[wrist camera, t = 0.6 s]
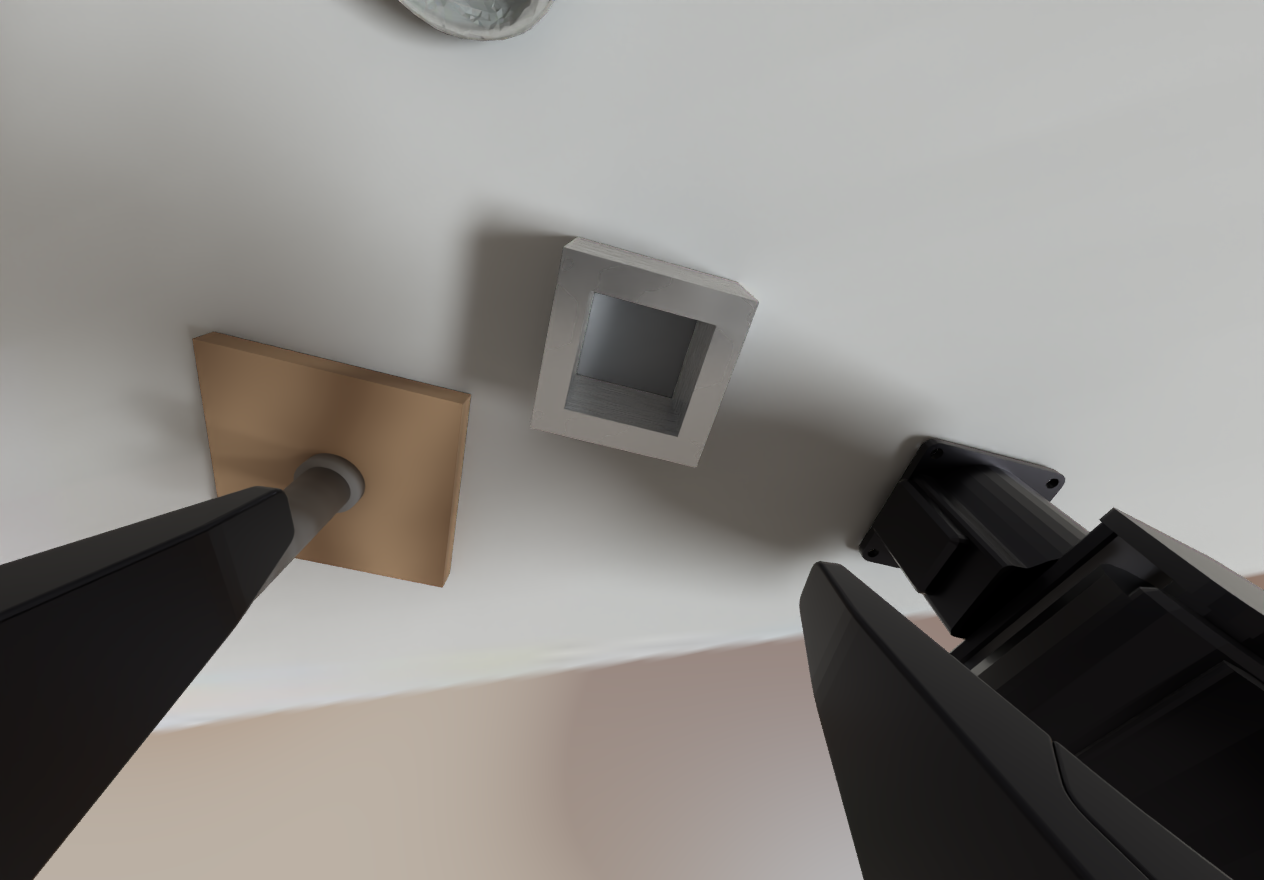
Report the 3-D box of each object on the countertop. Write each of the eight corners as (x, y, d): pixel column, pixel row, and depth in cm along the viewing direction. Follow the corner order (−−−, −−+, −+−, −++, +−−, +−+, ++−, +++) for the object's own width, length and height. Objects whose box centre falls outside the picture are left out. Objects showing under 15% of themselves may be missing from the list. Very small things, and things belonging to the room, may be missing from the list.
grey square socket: (738, 282, 18) (759, 302, 14) (687, 425, 20) (696, 467, 17) (577, 236, 17) (563, 247, 14) (547, 390, 20) (529, 428, 16)
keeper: (470, 394, 20) (392, 487, 14) (449, 572, 24) (384, 705, 18) (213, 331, 19) (0, 401, 12) (240, 530, 23) (94, 654, 17)
